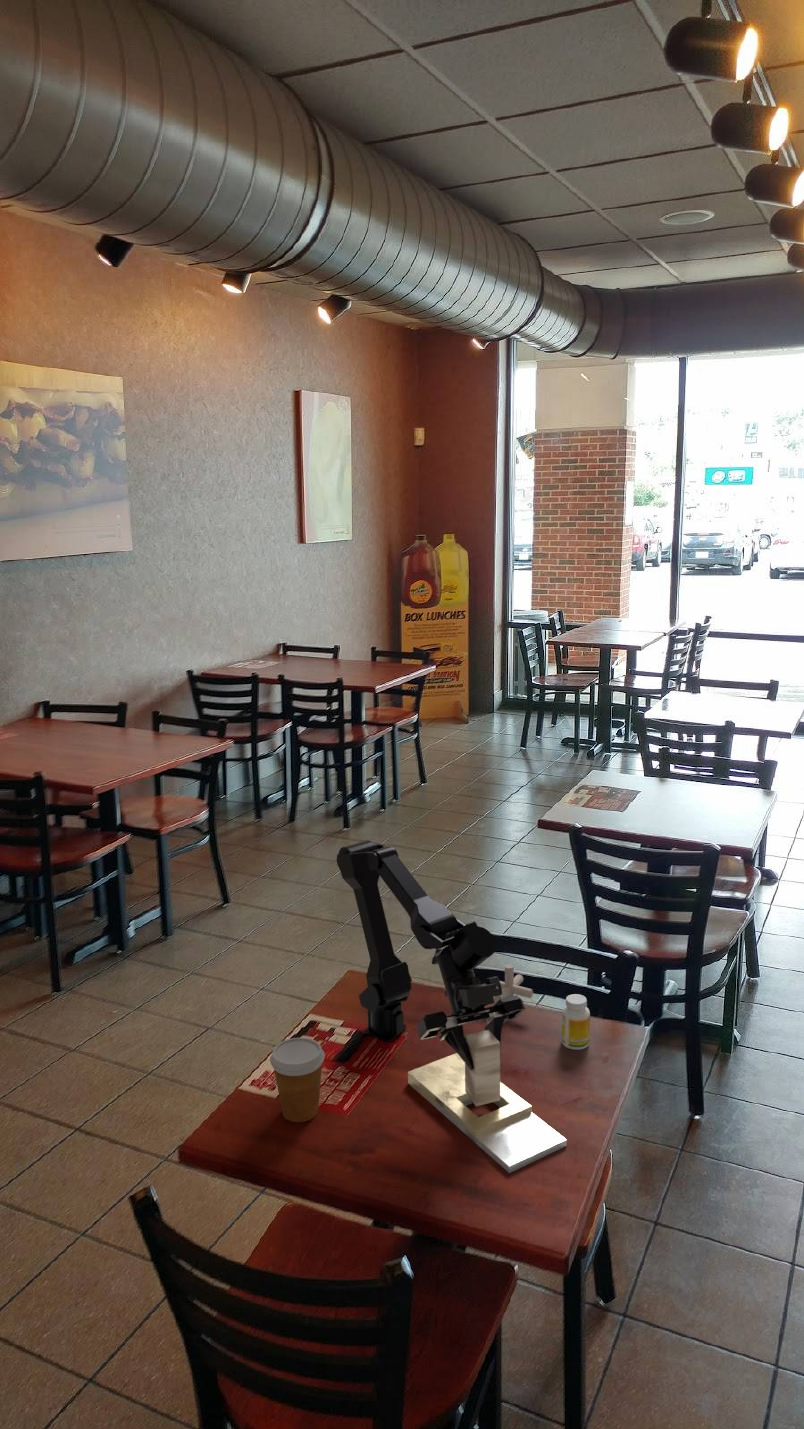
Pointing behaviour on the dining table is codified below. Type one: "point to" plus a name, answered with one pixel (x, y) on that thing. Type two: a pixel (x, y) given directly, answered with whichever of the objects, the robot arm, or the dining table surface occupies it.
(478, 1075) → the maple pin
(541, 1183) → the dining table surface
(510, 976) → the pipe connector
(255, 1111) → the dining table surface
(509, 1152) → the plate with square hole
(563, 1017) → the supplement bottle
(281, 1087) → the disposable coffee cup
